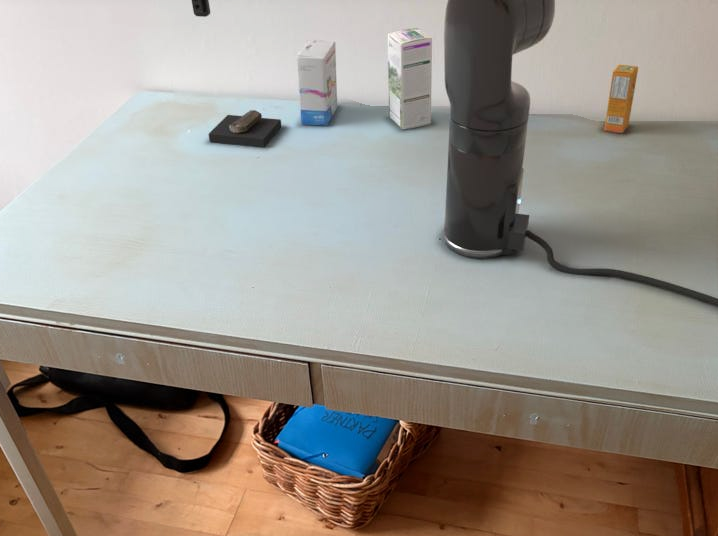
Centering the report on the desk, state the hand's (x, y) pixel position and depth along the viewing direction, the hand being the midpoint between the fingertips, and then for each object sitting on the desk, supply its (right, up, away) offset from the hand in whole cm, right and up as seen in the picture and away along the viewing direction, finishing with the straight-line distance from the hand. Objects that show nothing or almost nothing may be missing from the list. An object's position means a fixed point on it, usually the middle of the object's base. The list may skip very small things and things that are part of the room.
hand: (216, 6), depth 106 cm
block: (+1, -10, +21) cm, 24 cm away
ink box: (+14, -7, +27) cm, 31 cm away
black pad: (+1, -11, +22) cm, 25 cm away
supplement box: (+63, -12, +18) cm, 67 cm away
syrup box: (+29, -9, +24) cm, 39 cm away
